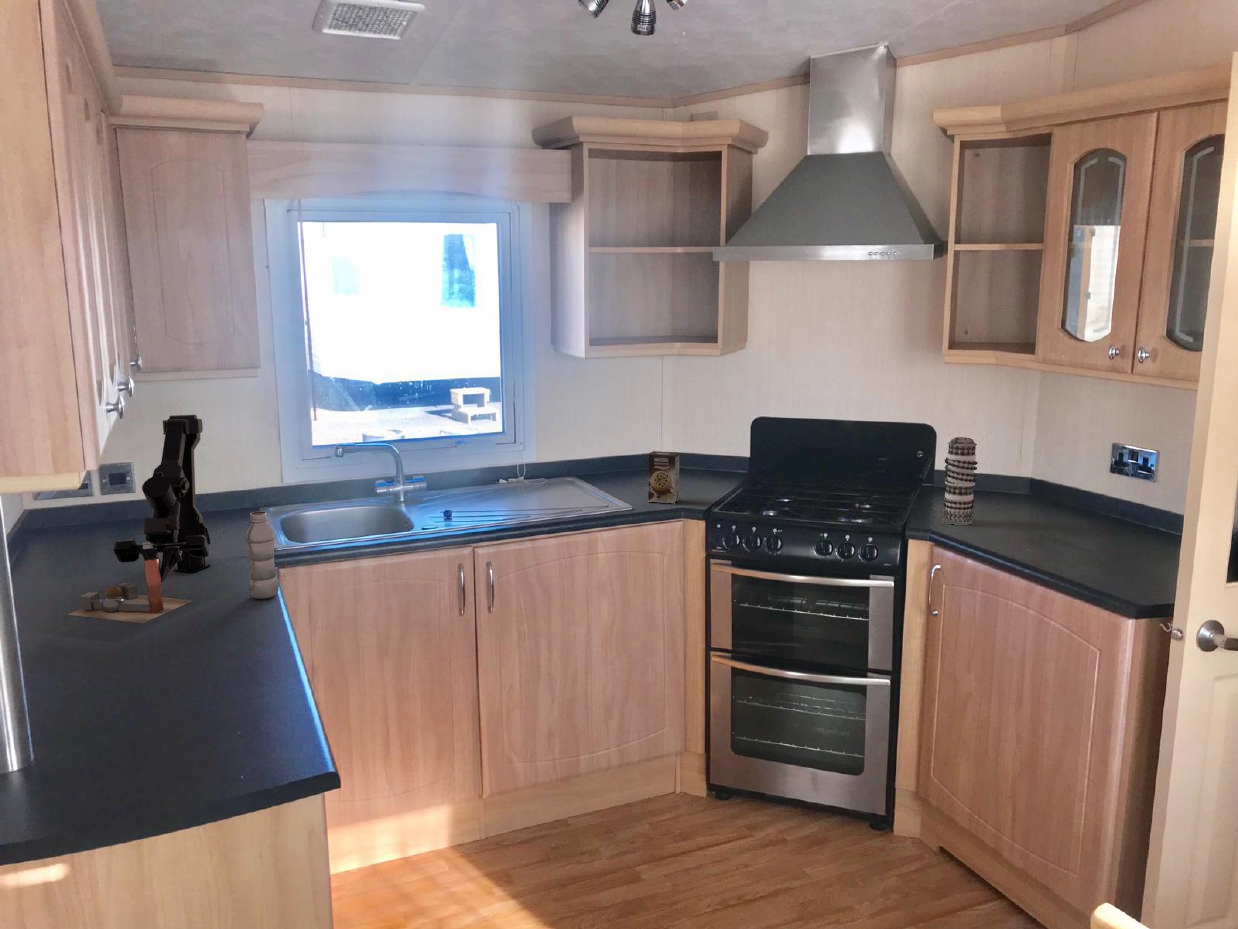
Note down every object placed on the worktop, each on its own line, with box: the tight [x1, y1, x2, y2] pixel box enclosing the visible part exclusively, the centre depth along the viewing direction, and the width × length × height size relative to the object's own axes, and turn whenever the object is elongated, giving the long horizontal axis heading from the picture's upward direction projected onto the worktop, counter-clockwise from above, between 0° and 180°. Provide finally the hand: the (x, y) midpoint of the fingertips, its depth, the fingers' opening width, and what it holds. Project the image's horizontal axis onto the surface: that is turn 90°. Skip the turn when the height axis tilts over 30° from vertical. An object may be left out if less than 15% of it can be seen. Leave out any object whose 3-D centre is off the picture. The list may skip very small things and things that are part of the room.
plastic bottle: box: [244, 510, 280, 600], centre depth 226 cm, size 6×7×20 cm
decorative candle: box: [942, 436, 978, 522], centre depth 287 cm, size 9×9×25 cm
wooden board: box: [67, 582, 193, 624], centre depth 217 cm, size 15×20×4 cm
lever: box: [79, 558, 164, 612], centre depth 214 cm, size 18×4×11 cm, turn 83°
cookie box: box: [647, 450, 681, 503], centre depth 317 cm, size 9×6×16 cm
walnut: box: [104, 585, 123, 599], centre depth 221 cm, size 4×4×4 cm
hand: (158, 582), depth 215 cm, fingers closed
